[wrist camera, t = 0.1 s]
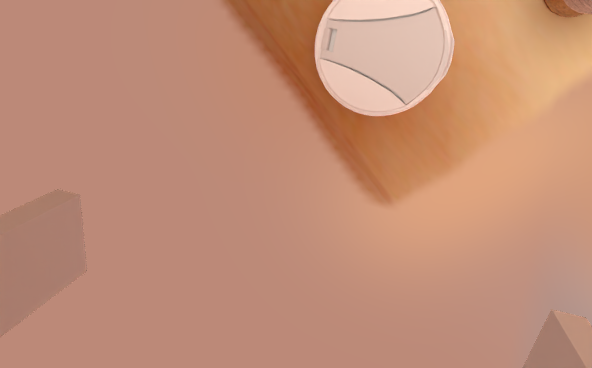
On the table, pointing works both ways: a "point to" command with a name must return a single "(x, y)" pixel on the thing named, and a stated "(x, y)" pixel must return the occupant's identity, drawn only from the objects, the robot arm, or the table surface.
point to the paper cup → (383, 53)
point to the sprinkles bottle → (570, 7)
